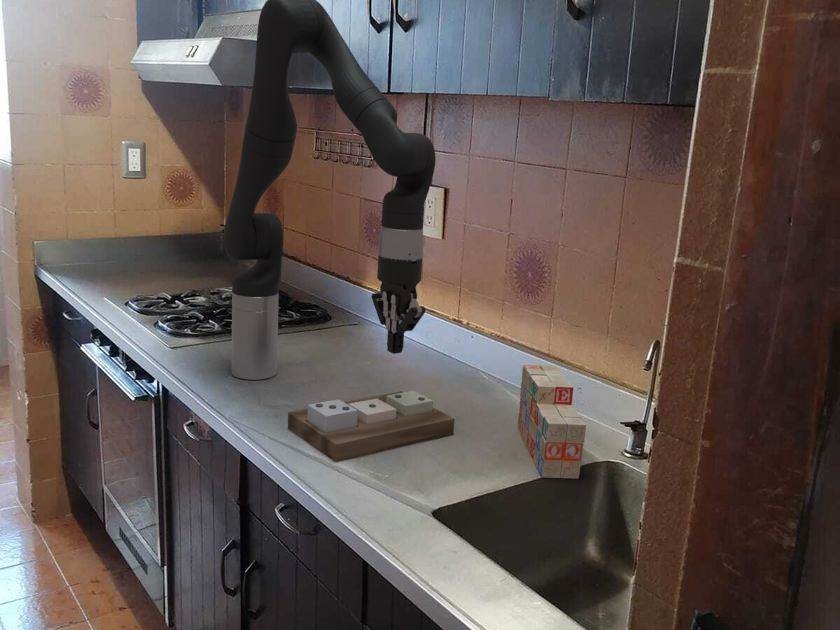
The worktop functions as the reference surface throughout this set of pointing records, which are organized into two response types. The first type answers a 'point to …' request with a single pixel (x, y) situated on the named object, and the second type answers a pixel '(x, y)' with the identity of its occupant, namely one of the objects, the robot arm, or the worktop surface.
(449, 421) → the key panel
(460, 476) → the worktop surface
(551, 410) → the stack of blocks
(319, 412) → the key
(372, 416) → the key
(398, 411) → the key
